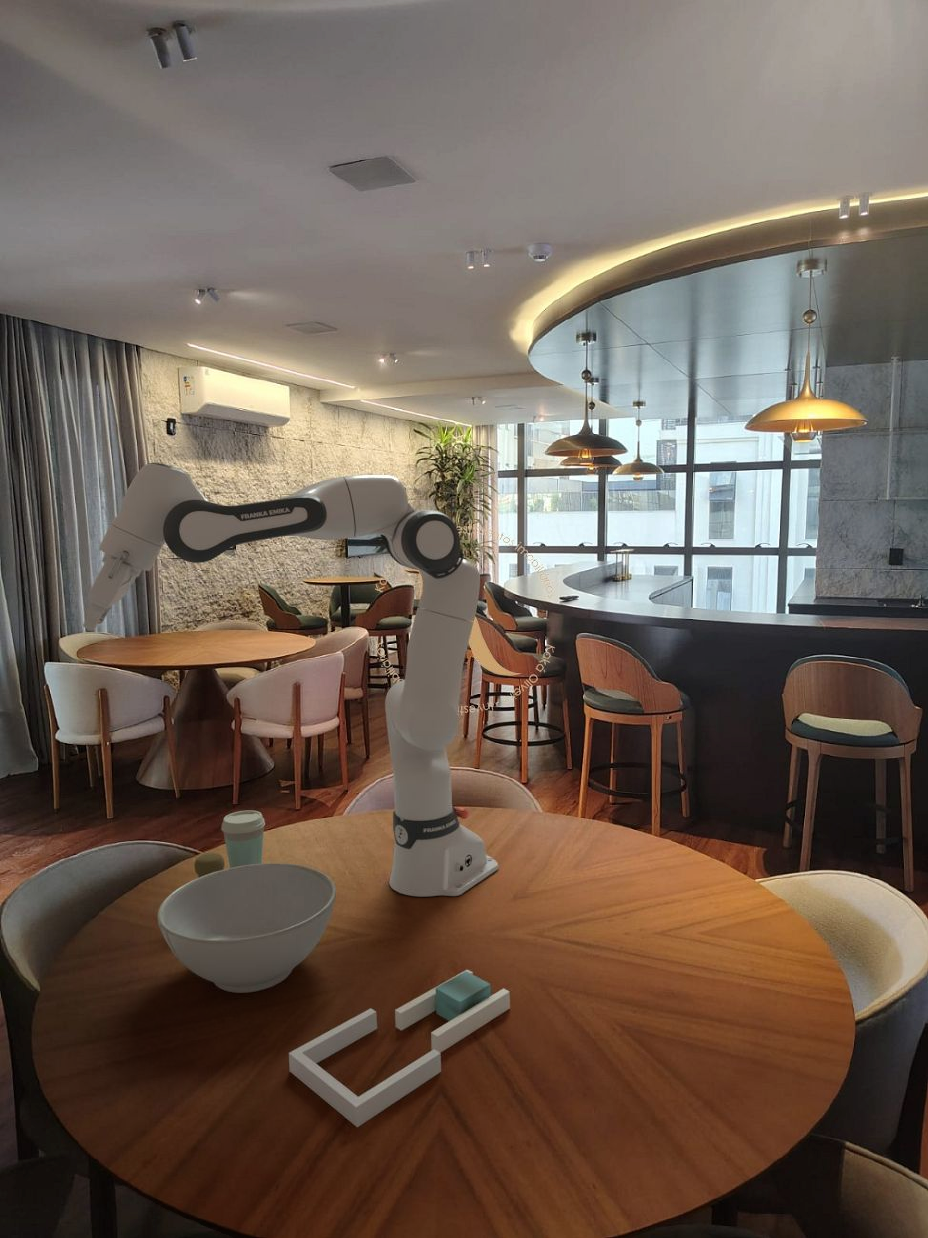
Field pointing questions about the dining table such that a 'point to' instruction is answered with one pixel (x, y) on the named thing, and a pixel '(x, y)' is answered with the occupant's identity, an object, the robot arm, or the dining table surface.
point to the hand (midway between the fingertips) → (92, 625)
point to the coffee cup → (244, 837)
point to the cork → (209, 864)
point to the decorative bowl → (248, 923)
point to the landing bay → (342, 1097)
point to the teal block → (460, 995)
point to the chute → (458, 1025)
